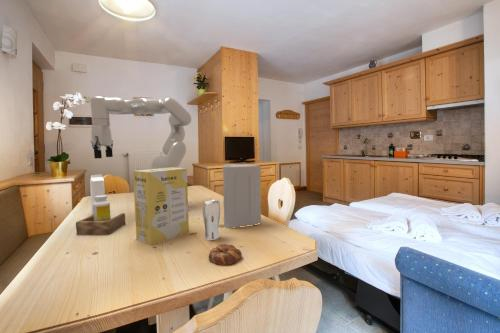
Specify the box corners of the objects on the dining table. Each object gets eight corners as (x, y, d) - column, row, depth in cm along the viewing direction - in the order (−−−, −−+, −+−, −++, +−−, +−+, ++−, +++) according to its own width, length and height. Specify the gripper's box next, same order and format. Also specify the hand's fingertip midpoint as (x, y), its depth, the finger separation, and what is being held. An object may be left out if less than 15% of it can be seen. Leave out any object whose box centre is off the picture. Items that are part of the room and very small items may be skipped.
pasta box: (174, 227, 118) (171, 167, 116) (188, 231, 112) (186, 168, 109) (136, 239, 103) (133, 170, 101) (151, 245, 97) (147, 172, 95)
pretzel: (204, 254, 89) (204, 244, 89) (233, 249, 93) (233, 239, 93) (213, 269, 78) (213, 257, 78) (246, 262, 82) (246, 251, 82)
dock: (125, 224, 123) (124, 213, 123) (108, 234, 109) (108, 222, 109) (96, 224, 123) (96, 213, 123) (76, 234, 109) (75, 222, 109)
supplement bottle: (114, 222, 118) (112, 195, 117) (100, 226, 112) (98, 198, 111) (104, 220, 121) (102, 194, 120) (90, 225, 115) (88, 196, 114)
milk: (106, 213, 144) (104, 174, 142) (94, 215, 140) (91, 175, 138) (103, 211, 149) (101, 173, 147) (91, 213, 145) (89, 174, 143)
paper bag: (211, 224, 122) (209, 166, 119) (231, 217, 134) (230, 164, 131) (243, 232, 111) (242, 168, 108) (261, 223, 123) (261, 165, 120)
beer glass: (223, 235, 106) (222, 200, 105) (215, 242, 100) (214, 204, 98) (208, 234, 109) (207, 199, 107) (200, 240, 102) (199, 203, 101)
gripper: (103, 124, 133) (106, 156, 135) (82, 121, 116) (85, 159, 118) (117, 123, 133) (120, 156, 135) (98, 121, 116) (101, 158, 118)
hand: (104, 157), depth 127 cm, fingers open, 9 cm apart
